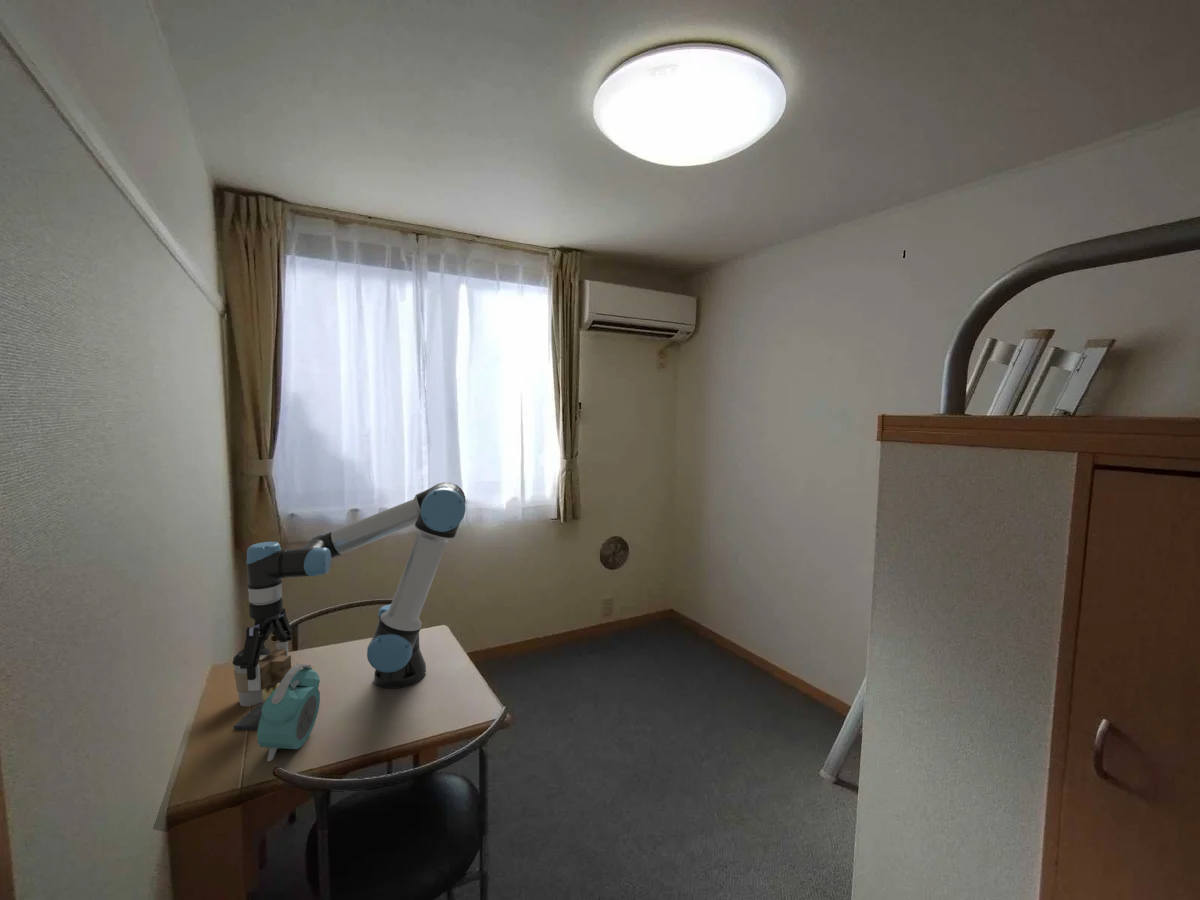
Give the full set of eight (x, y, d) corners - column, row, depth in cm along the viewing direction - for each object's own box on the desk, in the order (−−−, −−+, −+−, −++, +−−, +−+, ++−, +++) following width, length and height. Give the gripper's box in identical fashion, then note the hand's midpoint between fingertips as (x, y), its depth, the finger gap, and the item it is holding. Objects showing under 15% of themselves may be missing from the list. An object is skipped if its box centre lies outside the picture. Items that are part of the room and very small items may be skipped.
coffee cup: (253, 710, 139) (250, 658, 138) (226, 706, 140) (223, 655, 139) (280, 692, 147) (277, 643, 146) (254, 689, 149) (252, 641, 148)
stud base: (306, 703, 142) (305, 672, 141) (278, 729, 130) (277, 696, 129) (264, 702, 142) (263, 672, 142) (233, 729, 130) (231, 696, 130)
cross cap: (299, 673, 140) (298, 648, 140) (275, 693, 130) (274, 666, 130) (264, 673, 140) (263, 648, 140) (238, 693, 131) (236, 666, 130)
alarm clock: (290, 723, 133) (286, 651, 131) (327, 722, 133) (324, 650, 132) (250, 770, 115) (245, 687, 114) (293, 767, 116) (289, 685, 115)
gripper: (277, 584, 146) (280, 655, 147) (219, 619, 121) (224, 703, 123) (303, 584, 146) (306, 654, 148) (252, 618, 122) (256, 701, 123)
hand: (269, 676), depth 135 cm, fingers open, 12 cm apart
